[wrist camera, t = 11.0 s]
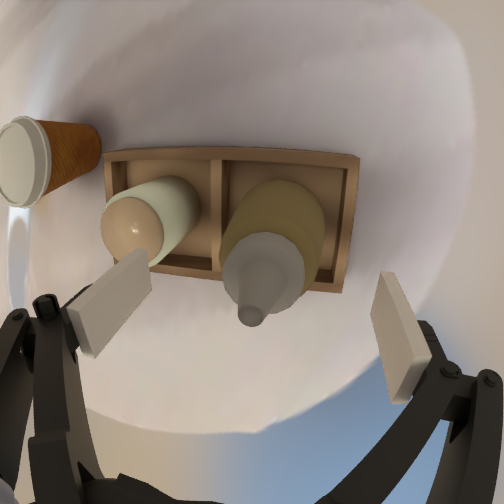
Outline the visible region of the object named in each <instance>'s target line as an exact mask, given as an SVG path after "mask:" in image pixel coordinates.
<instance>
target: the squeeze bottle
mask: <svg viewBox="0 0 504 504" xmlns="http://www.w3.org/2000/svg"><path fill="white" fill-rule="evenodd" d="M324 235H325V221H324V212H323V210H322V208H321V206H320V204H319V203H318V201H317V199H316V198H315V196H314V195H313V194H312V193H311V192H309V191H308V190H307V189H305V188H304V187H302V186H301V185H300V184H297V183H293V182H289V181H285V180H274V181H267V182H262V183H261V184H259V185H257V186H256V187H254V188H253V189H251V190H249V191H248V192H247V193H246V195H245V196H244V197H243V199H242V200H241V202H240V203H239V205H238V206H237V208H236V210H235V212H234V214H233V217H232V219H231V221H230V223H229V225H228V227H227V229H226V231H225V233H224V236H223V238H222V240H221V246H220V251H219V257H218V258H219V262H220V266H221V270H222V278H223V282H224V286H225V290H226V291H227V293H228V294H229V295H230V297H231V298H232V300H233V301H234V302H235V303H237V304H238V317H239V320H240V321H241V322H242V323H243V324H244V325H246V326H250V327H255V326H258V325H260V324H261V323H262V322H263V320H264V319H265V317H266V316H267V315H268V314H273V313H278V312H280V311H283V310H285V309H287V308H289V307H291V306H292V305H293V303H294V302H295V301H296V300H297V299H298V298H299V297H300V296H302V295H303V294H304V293H305V292H306V291H307V290H308V288H309V287H310V286H311V285H312V284H313V283H314V281H315V278H316V275H317V272H318V269H319V266H320V260H321V254H322V247H323V241H324Z"/></svg>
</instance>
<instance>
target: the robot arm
mask: <svg viewBox="0 0 504 504" xmlns="http://www.w3.org/2000/svg"><path fill="white" fill-rule="evenodd" d="M151 291H152V286H151V279H150V272H149V264H148V256H147V249H141V248H135V249H134V250H133V251H131V252H130V253H129V254H128V255H126V256H125V257H124V258H123V259H122V260H120V261H119V262H118V263H117V264H116V265H114V266H113V267H112V268H111V269H110V270H108V271H107V272H106V273H105V274H104V275H103V276H101V277H100V278H99V279H98V280H97V281H96V282H94V283H93V284H90V285H88V286H86V287H84V288H83V289H82V290H81V291H80V292H78V294H76V295H75V296H74V298H72V299H70V300H69V301H68V302H67V303H66V304H65V305H64V306H63V307H61V308H60V307H59V304H58V300H57V297H56V296H55V295H54V294H45V295H42V296H39V297H38V298H36V299H35V300H34V301H33V303H32V305H33V307H34V310H35V313H36V316H37V318H33V317H30V316H29V314H28V311H27V310H26V309H24V308H20V309H16V310H13V311H12V312H11V313H9V315H8V316H7V318H6V319H5V321H4V323H3V325H2V327H1V328H0V504H19V503H18V501H17V500H16V499H15V498H14V493H13V492H14V489H15V485H16V482H17V478H18V472H19V465H20V458H21V452H22V446H23V440H24V434H25V430H26V424H27V420H28V415H29V411H30V407H31V403H32V399H33V406H34V429H35V436H34V437H30V438H29V439H28V451H29V461H30V470H31V477H32V483H33V490H34V496H35V501H36V502H33V503H30V504H223V503H218V502H213V501H183V500H176V499H173V498H172V497H170V496H168V495H166V494H164V493H163V492H161V491H159V490H158V489H156V488H154V487H153V486H151V485H149V484H148V483H145V482H142V481H140V480H137V479H134V478H132V477H129V476H126V475H124V474H121V473H120V474H119V476H118V477H117V479H114V478H104V476H103V474H102V472H101V470H100V468H99V465H98V461H97V458H96V454H95V450H94V446H93V442H92V438H91V434H90V429H89V424H88V420H87V415H86V409H85V404H84V398H83V393H82V386H81V380H80V372H79V365H78V356H77V353H76V351H75V350H76V349H77V348H78V347H79V346H80V348H81V351H82V354H83V355H85V356H88V357H90V358H93V359H95V358H96V357H97V356H98V355H99V353H100V352H101V351H102V350H103V348H104V347H105V346H106V345H107V343H108V342H109V341H110V340H111V339H112V337H113V336H114V335H115V334H116V332H117V331H118V330H119V329H120V328H121V326H122V325H123V324H124V323H125V322H126V320H127V319H128V318H129V317H130V315H131V314H132V313H133V312H134V311H135V310H136V308H137V307H138V306H139V305H140V304H141V302H142V301H143V300H144V299H145V298H146V297H147V295H148V294H149V293H150V292H151ZM370 315H371V319H372V323H373V327H374V331H375V335H376V339H377V343H378V347H379V351H380V355H381V360H382V364H383V369H384V373H385V378H386V382H387V387H388V392H389V397H390V403H391V404H407V403H408V401H409V399H410V397H411V396H412V395H413V398H412V400H411V401H410V402H409V404H408V405H407V406H406V408H405V409H404V410H403V412H402V413H401V415H400V416H399V417H398V418H397V420H396V421H395V422H394V423H393V425H392V426H391V427H390V428H389V430H388V431H387V432H386V433H385V435H384V436H383V437H382V438H381V439H380V440H379V442H378V443H377V444H376V445H375V446H374V447H373V449H372V450H371V451H370V452H369V453H368V454H367V455H366V456H365V457H364V459H363V460H362V461H361V462H360V463H359V464H358V465H357V466H356V467H355V468H354V469H353V470H352V471H351V472H350V473H349V474H348V475H347V476H346V477H345V478H344V479H343V480H342V481H341V482H340V483H339V484H338V485H337V486H336V487H335V488H334V489H333V490H332V491H331V492H329V493H328V494H327V495H325V496H323V497H322V498H321V499H319V500H318V501H317V502H316V503H315V504H381V503H382V502H383V501H384V500H385V498H386V497H387V496H388V495H389V494H390V493H391V491H392V490H393V489H394V488H395V486H396V485H397V484H398V482H399V481H400V480H401V478H402V477H403V476H404V474H405V473H406V472H407V470H408V469H409V468H410V466H411V465H412V463H413V462H414V460H415V459H416V458H417V456H418V455H419V453H420V452H421V450H422V448H423V447H424V445H425V444H426V442H427V441H428V439H429V437H430V436H431V434H432V433H433V431H434V429H435V428H436V426H437V424H438V422H439V421H440V419H442V420H447V421H450V423H449V427H448V432H447V436H446V440H445V444H444V448H443V452H442V456H441V459H440V463H439V466H438V470H437V473H436V476H435V479H434V482H433V485H432V488H431V491H430V494H429V496H428V499H427V502H426V504H492V501H493V496H494V491H495V486H496V480H497V474H498V467H499V459H500V451H501V440H502V426H503V382H502V379H501V377H500V376H499V375H498V374H497V373H496V372H494V371H492V370H489V369H484V370H481V371H480V372H479V374H478V375H477V377H473V376H468V375H464V374H462V372H461V369H460V368H459V367H458V365H456V364H455V363H453V362H451V361H448V360H447V358H446V356H445V353H444V351H443V349H442V347H441V345H440V343H439V342H438V341H439V340H438V338H437V336H436V334H435V332H434V330H433V328H432V327H431V326H430V325H429V324H428V323H427V322H426V321H420V320H416V317H415V315H414V313H413V311H412V309H411V307H410V304H409V302H408V300H407V298H406V296H405V294H404V292H403V290H402V288H401V286H400V284H399V282H398V280H397V278H396V276H395V274H394V273H392V272H381V273H380V277H379V281H378V286H377V290H376V294H375V298H374V302H373V305H372V309H371V313H370ZM20 351H21V353H20Z"/></svg>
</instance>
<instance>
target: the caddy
mask: <svg viewBox="0 0 504 504" xmlns="http://www.w3.org/2000/svg"><path fill="white" fill-rule="evenodd" d="M103 161H104V178H105V191H106V202H107V203H108V201H109V200H110V199H111V198H112V197H113V196H115V195H116V194H118V193H120V192H123V191H125V190H128V189H130V188H133V187H135V186H138V185H140V184H143V183H146V182H148V181H151V180H154V179H156V178H159V177H162V176H167V175H173V176H178V177H180V178H183V179H184V180H186V181H187V182H189V183H190V184H191V185H192V186H193V187H194V189H195V190H196V192H197V194H198V196H199V198H200V202H201V217H200V220H199V223H198V225H197V226H196V228H195V229H194V230H193V231H192V232H191V233H190V234H189V235H188V236H186V237H185V238H184V239H183V240H182V241H181V242H180V243H179V244H178V245H177V246H176V247H175V248H174V249H172V250H171V251H170V252H169V253H168V254H167V255H166V256H165V257H164V258H163V259H162V260H161V261H160V262H158V263H157V264H156V265H154V266H151V267H149V272H156V273H163V274H171V275H178V276H186V277H194V278H202V279H210V280H218V281H223V278H222V270H221V266H220V262H219V258H218V257H219V251H220V246H221V240H222V238H223V236H224V233H225V231H226V229H227V227H228V225H229V223H230V221H231V219H232V217H233V214H234V212H235V210H236V208H237V206H238V205H239V203H240V202H241V200H242V199H243V197H244V196H245V195H246V193H247V192H248V191H249V190H251V189H253V188H254V187H256V186H257V185H259V184H261V183H262V182H267V181H274V180H285V181H289V182H293V183H297V184H300V185H301V186H302V187H304V188H305V189H307V190H308V191H309V192H311V193H312V194H313V195H314V196H315V198H316V199H317V201H318V203H319V204H320V206H321V208H322V210H323V212H324V221H325V235H324V241H323V247H322V254H321V260H320V266H319V269H318V272H317V275H316V278H315V281H314V283H313V284H312V285H311V286H310V287H309V288H308V290H310V291H321V292H332V293H342V288H343V283H344V277H345V272H346V266H347V260H348V254H349V247H350V241H351V234H352V227H353V220H354V212H355V204H356V195H357V186H358V176H359V166H360V158H358V157H356V156H354V155H348V154H339V153H330V152H320V151H309V150H296V149H282V148H264V147H236V146H178V147H150V148H132V149H121V150H116V151H110V152H105V153H103ZM113 258H114V264H115V265H116V264H117V263H118V262H119V261H118V260H117V259H116V258H115V257H114V256H113Z"/></svg>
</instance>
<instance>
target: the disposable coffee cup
mask: <svg viewBox="0 0 504 504" xmlns="http://www.w3.org/2000/svg"><path fill="white" fill-rule="evenodd" d="M100 154H101V142H100V138H99V135H98V133H97V132H96V130H95V129H94V128H93V127H91V126H89V125H84V124H74V123H66V122H53V121H41V120H34V119H32V118H30V117H27V116H19V117H17V118H15V119H14V120H12V121H11V122H10V123H8V124H6V125H4V127H3V128H2V129H1V130H0V196H1V198H2V199H3V200H4V201H5V203H7V204H8V205H10V206H12V207H20V208H30V207H32V206H34V205H35V204H36V203H37V202H38V201H39V200H40V199H41V198H42V197H43V196H44V195H46V194H48V193H49V192H51V191H53V190H55V189H57V188H59V187H60V186H62V185H64V184H66V183H67V182H70V181H72V180H73V179H75V178H77V177H79V176H81V175H83V174H85V173H87V172H90V171H91V170H92V169H94V167H95V166H96V165H97V163H98V161H99V158H100Z"/></svg>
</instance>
